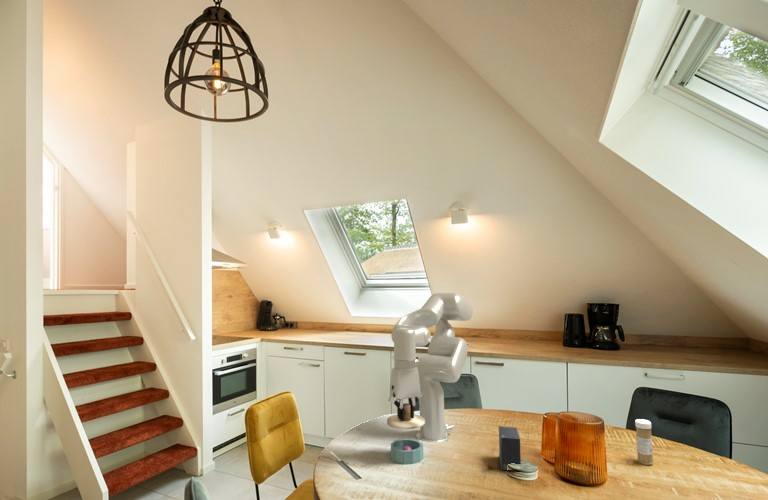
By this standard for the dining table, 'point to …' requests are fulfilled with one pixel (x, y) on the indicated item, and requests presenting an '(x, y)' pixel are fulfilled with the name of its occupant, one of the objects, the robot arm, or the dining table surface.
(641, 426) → the sprinkles bottle
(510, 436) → the small box
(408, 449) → the plum
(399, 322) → the robot arm
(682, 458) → the dining table surface
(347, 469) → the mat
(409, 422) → the lid
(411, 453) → the bowl
